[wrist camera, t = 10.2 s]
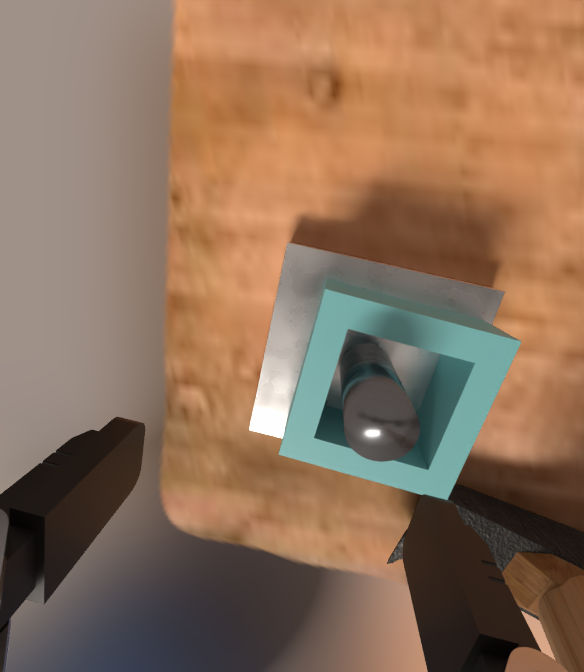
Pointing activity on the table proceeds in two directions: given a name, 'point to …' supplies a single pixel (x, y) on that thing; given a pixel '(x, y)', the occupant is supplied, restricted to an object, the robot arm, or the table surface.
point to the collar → (438, 403)
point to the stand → (358, 349)
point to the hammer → (532, 567)
